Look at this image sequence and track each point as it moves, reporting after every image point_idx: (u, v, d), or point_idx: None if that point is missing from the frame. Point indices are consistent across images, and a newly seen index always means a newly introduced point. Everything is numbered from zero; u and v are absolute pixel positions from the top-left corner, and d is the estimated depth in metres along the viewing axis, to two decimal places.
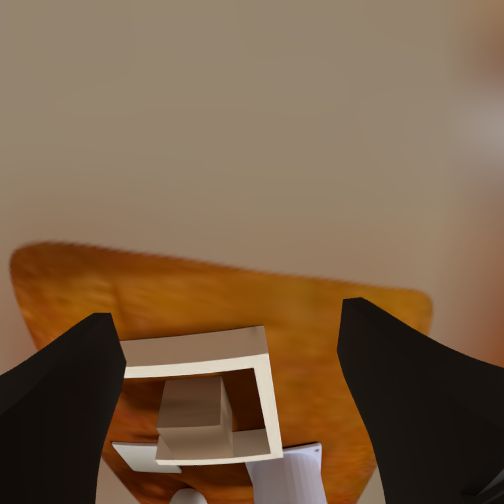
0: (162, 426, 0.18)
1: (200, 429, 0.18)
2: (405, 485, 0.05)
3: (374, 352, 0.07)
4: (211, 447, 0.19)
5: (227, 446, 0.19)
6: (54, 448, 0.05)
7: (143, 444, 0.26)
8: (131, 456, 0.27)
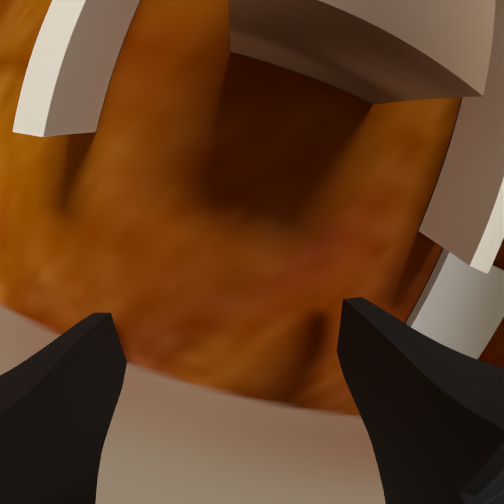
0: None
1: None
2: (405, 485, 0.05)
3: (374, 352, 0.07)
4: None
5: None
6: (54, 448, 0.05)
7: (422, 297, 0.11)
8: None
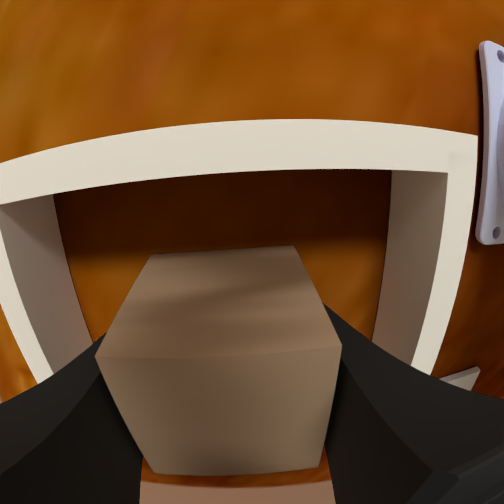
0: None
1: (130, 407, 0.06)
2: (350, 501, 0.05)
3: None
4: (248, 400, 0.06)
5: (245, 358, 0.05)
6: (104, 458, 0.05)
7: None
8: None
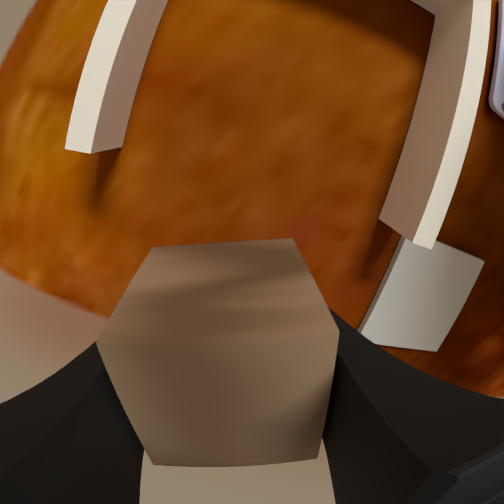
0: None
1: (130, 395, 0.06)
2: (350, 501, 0.05)
3: None
4: (247, 388, 0.06)
5: (244, 343, 0.05)
6: (104, 458, 0.05)
7: (387, 274, 0.14)
8: (403, 326, 0.15)
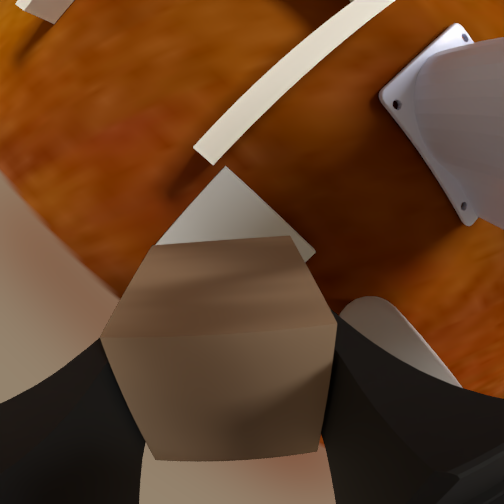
0: None
1: (133, 390, 0.06)
2: (350, 501, 0.05)
3: None
4: (247, 379, 0.06)
5: (244, 336, 0.06)
6: (104, 458, 0.05)
7: (192, 202, 0.14)
8: None
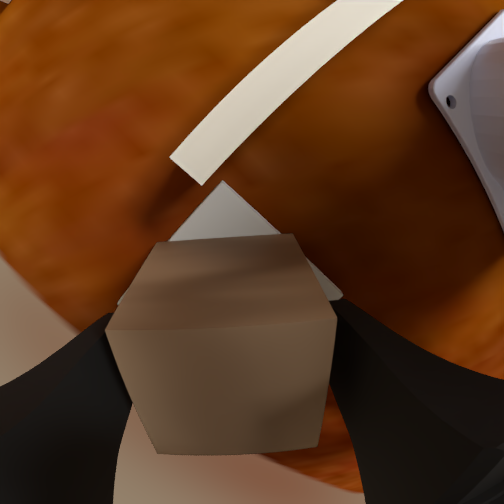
0: None
1: (137, 382, 0.06)
2: (383, 492, 0.05)
3: (354, 355, 0.07)
4: (249, 373, 0.06)
5: (246, 329, 0.06)
6: (73, 452, 0.05)
7: (176, 231, 0.10)
8: None
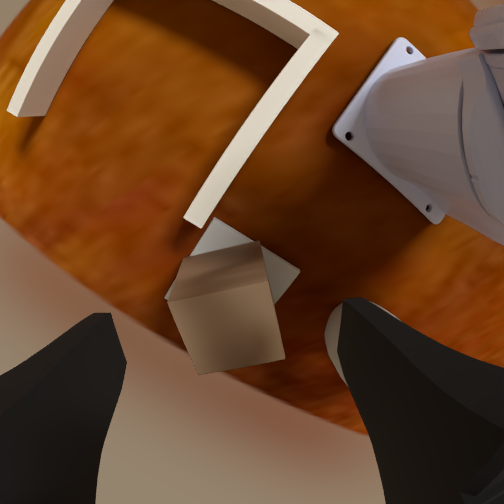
0: None
1: (184, 327, 0.14)
2: (405, 485, 0.05)
3: (374, 352, 0.07)
4: (235, 312, 0.14)
5: (228, 291, 0.13)
6: (54, 448, 0.05)
7: None
8: None
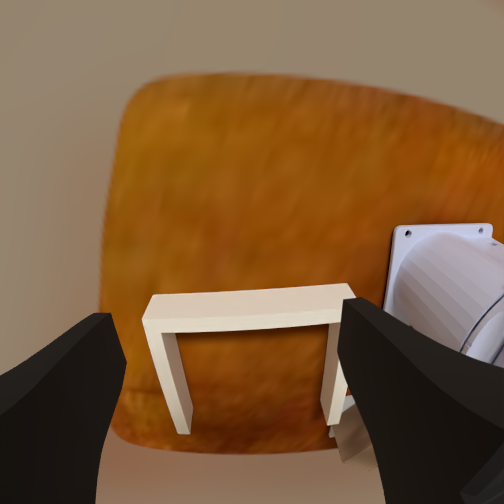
0: None
1: (354, 464, 0.21)
2: (405, 485, 0.05)
3: (374, 352, 0.07)
4: None
5: (369, 446, 0.20)
6: (54, 448, 0.05)
7: None
8: None
